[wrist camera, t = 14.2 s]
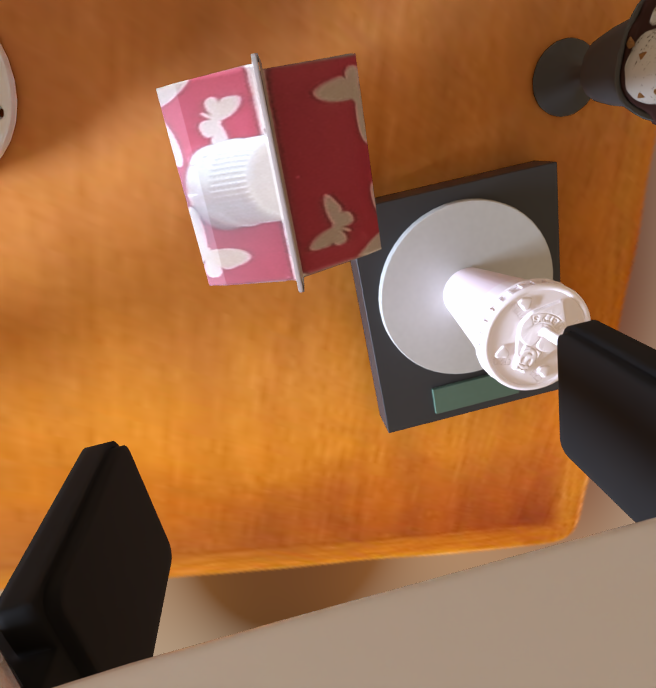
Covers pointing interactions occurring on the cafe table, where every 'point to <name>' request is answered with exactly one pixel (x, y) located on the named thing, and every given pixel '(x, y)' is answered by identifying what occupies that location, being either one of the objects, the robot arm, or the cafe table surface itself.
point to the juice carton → (274, 168)
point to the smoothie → (514, 323)
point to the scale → (430, 280)
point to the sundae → (603, 69)
